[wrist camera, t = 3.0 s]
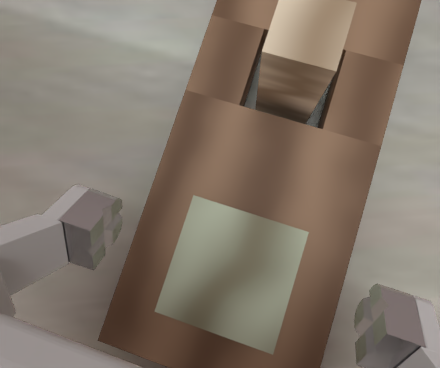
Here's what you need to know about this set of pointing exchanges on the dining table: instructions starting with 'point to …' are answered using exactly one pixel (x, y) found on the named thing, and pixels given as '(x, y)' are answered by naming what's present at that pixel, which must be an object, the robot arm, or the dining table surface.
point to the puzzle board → (257, 202)
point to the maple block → (301, 55)
